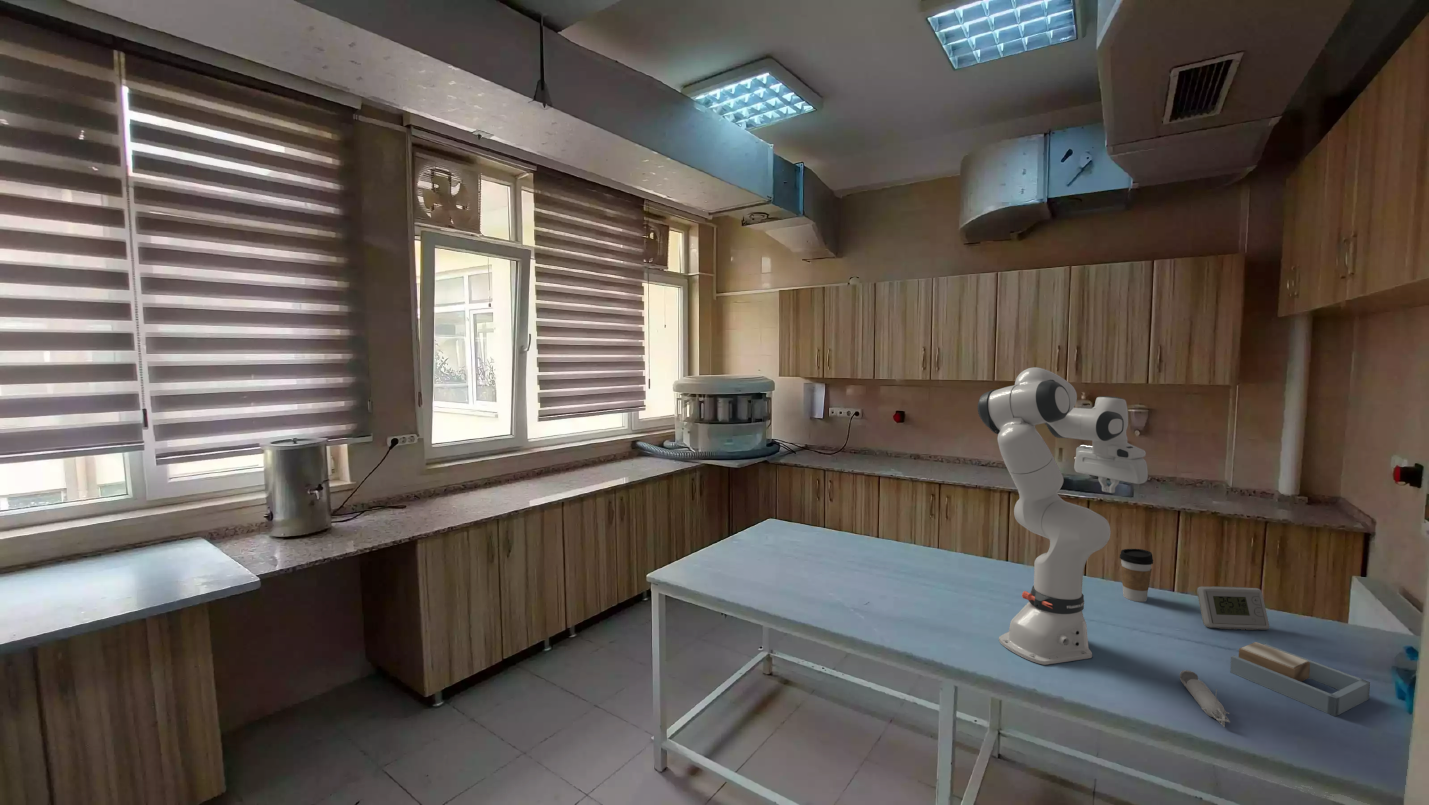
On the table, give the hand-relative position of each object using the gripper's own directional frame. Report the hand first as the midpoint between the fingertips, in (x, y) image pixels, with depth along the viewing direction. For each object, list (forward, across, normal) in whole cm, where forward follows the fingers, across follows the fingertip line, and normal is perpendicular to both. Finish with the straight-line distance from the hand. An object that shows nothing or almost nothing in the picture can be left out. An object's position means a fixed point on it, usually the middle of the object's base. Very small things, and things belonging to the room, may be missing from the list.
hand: (1108, 492), depth 172 cm
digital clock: (+34, +26, +13) cm, 45 cm away
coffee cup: (+34, +4, +8) cm, 35 cm away
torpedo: (+35, +43, -34) cm, 65 cm away
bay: (+34, +48, -7) cm, 59 cm away
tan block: (+34, +44, -7) cm, 56 cm away
